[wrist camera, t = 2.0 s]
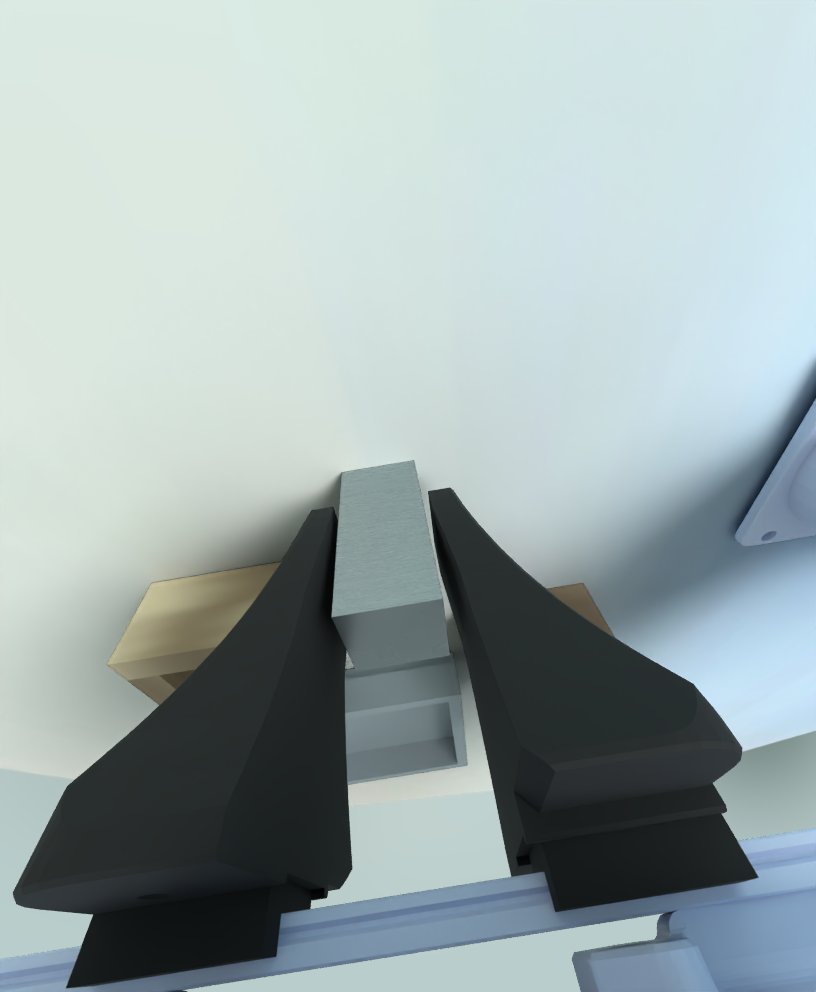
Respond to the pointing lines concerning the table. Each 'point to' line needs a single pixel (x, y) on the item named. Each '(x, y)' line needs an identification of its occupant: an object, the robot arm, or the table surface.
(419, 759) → the tray
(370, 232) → the table surface
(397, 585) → the gray metal block
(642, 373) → the table surface
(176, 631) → the wooden square frame
